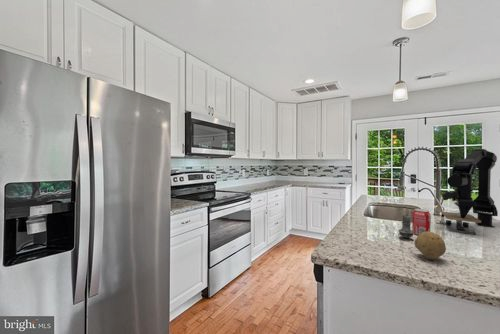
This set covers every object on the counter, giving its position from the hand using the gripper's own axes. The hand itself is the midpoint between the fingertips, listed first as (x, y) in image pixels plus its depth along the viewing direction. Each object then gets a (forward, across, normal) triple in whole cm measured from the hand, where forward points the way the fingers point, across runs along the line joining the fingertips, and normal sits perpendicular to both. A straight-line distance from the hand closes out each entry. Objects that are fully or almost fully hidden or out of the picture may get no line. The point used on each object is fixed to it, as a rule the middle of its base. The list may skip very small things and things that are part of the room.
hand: (462, 218), depth 113 cm
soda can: (+8, +15, -17) cm, 24 cm away
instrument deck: (+1, -8, 0) cm, 8 cm away
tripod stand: (+7, -8, 0) cm, 11 cm away
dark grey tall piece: (+8, +26, -23) cm, 36 cm away
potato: (+9, +46, -16) cm, 50 cm away
